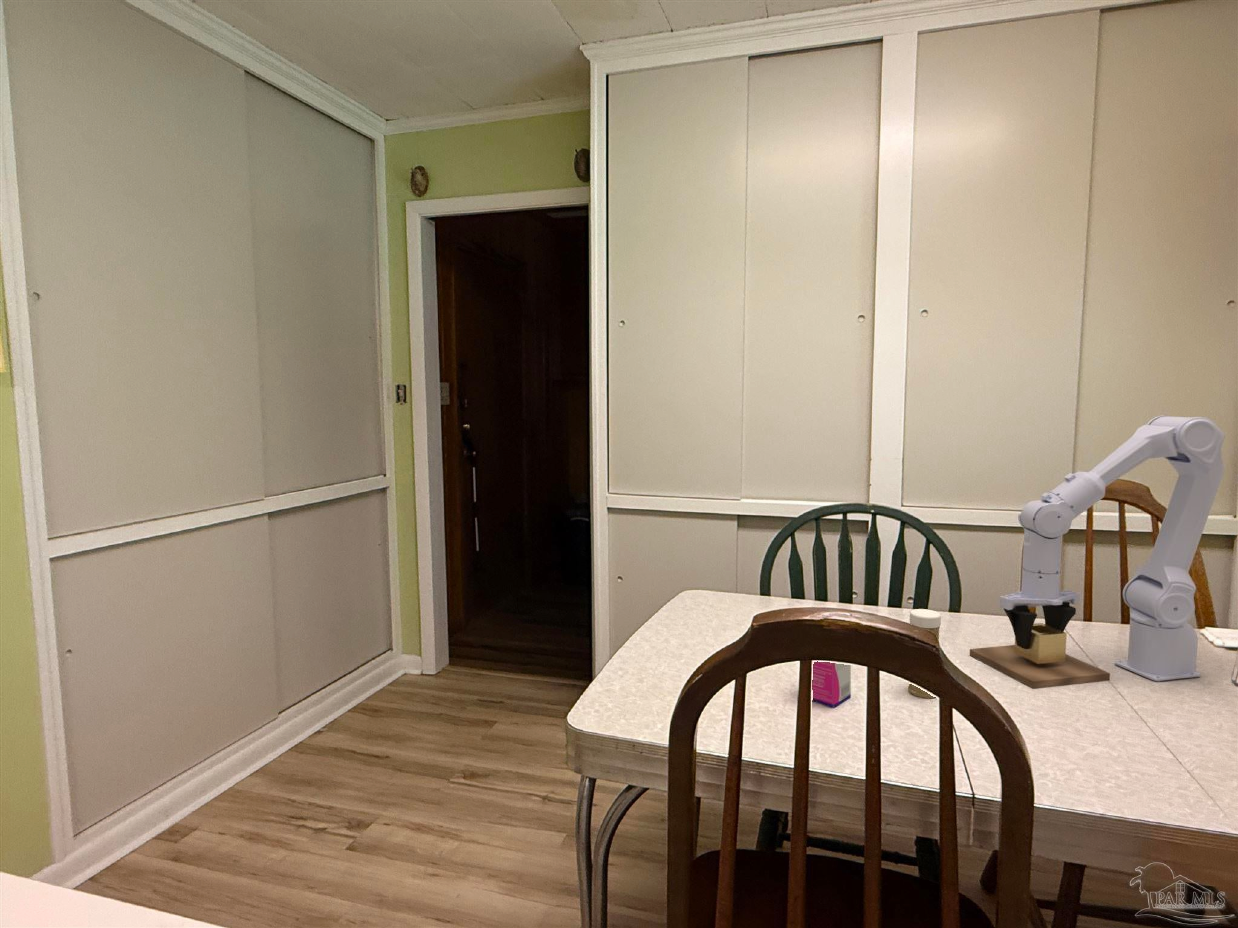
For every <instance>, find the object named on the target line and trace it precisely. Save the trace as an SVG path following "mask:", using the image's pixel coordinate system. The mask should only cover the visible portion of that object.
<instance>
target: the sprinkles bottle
mask: <svg viewBox="0 0 1238 928" xmlns="http://www.w3.org/2000/svg"><path fill="white" fill-rule="evenodd" d="M941 623H942V616H941V614H940V613H939V612H938V611H935V610H932V609H925V608H918V609H917V608H915V609H912V610H910V612H909V625H910V624H912V625H914V626H918V627H921V628H923V629H926V630H929V631H930V632H933V633H934V634H935V635H936V636H937V638H938V639H939V640H940V628H941ZM907 687H908V688H907V691H908V692H909V693H910V694H911V695H913V696H914V697H919V698H923V699H924V698H925V699H931V698H934V697H933V696H931V695H930V694H928V693H927V692H925V691H923V690H921V689H920V688H918V687H916V686H914V685H912V684H909V683H908V686H907Z"/></svg>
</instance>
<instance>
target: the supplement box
mask: <svg viewBox="0 0 1238 928" xmlns="http://www.w3.org/2000/svg"><path fill="white" fill-rule="evenodd" d="M851 666H852V665H844V664H836V663H830V662H818V661H817V662H814V664H813V680H812V690H813V701H812V702H814V703H817V704H820V705H823V706H826V707H829V708H831V709H835V708H836V707H837V706H839V705H840V704H843V703H844V702H846V701H847V700H849V699H851V697H852V695H851V689H852V687H851V686H852V685H851V679H852V678H851V674H852V673H851V672H852V671H851Z"/></svg>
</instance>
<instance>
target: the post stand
mask: <svg viewBox="0 0 1238 928" xmlns="http://www.w3.org/2000/svg"><path fill="white" fill-rule="evenodd" d="M1014 648H1015V644H1011V645H1010V644H1009V645H998V646H989V647H978V648H976V647H975V648H970V649H969V656H970V657H972V658H974V659H975V660H977V659H978V661H979V662H982V663H984V664H986V665H987V666H989V667H990V668H993V669H994V670H997V671H999V672H1001V674H1005V675H1006V676H1008V677H1011V678H1012V679H1014V680H1016V681H1017V682H1020V683H1021V684H1023V685H1026V686H1027V687H1029V688H1031V689H1038V688H1040V689H1041V688H1049V687H1057V686H1058V687H1059V686H1067V685H1069V686H1070V685H1077V684H1085V683H1086V684H1087V683H1094V682H1095V683H1096V682H1103V681H1104V682H1105V681H1110V680H1111V673H1110V672H1109V671H1106V670H1105V669H1101V668H1099V667H1097V666H1095V665H1093V664H1090V663H1088V662H1085V661H1083V660H1080V659H1078V658H1076V657H1074V656H1072V655H1069V654H1066V653H1065V661H1062V662H1052V663H1042V664H1037V663H1035V662H1033V661H1031V660H1029V659H1027V658H1025V657H1023V656H1021V655H1019V654H1017V653H1015V652H1014Z"/></svg>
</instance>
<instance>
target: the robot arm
mask: <svg viewBox="0 0 1238 928" xmlns="http://www.w3.org/2000/svg"><path fill="white" fill-rule="evenodd" d="M1225 438H1226V436H1225V434H1224V433H1223V432H1222V430H1221V429H1220V428H1219V427H1218V426H1217V424H1216V423H1215V422H1214V421H1212V420H1211V419H1209V418H1207V417H1204V416H1194V417H1188V416H1187V417H1186V416H1185V417H1184V416H1172V415H1166V414H1164V415H1157V416H1156V417H1153V418H1152V419H1150V420H1149V421H1148V422H1147V424H1143V425H1142V426H1140V427H1138V428H1137V429H1136V430H1135V432H1134V433H1133V434H1132V436H1131V437H1130V438H1128V439H1127V440H1126V441H1125V442H1124V443H1123V444H1121V445H1120V446H1119V447H1118V448H1116V449H1115V450H1114V451H1113V452H1111V453H1110V454H1109V455H1108V456H1106V457H1105V458H1104V459H1103V460H1102V461H1101V462H1100V463H1099V464H1097V465H1095V467H1093V468H1092V469H1091V470H1090V471H1087V472H1086V471H1076V472H1075V473H1071V472H1070V473H1067V474H1066V475H1065V476H1063V479H1064V481H1063V482H1062V483H1060V484H1059V485H1057V486H1055V487H1054V488H1053V489H1052V490H1050V491H1049V492H1044V493H1042V494H1041V495H1040V497H1041V499H1036V500H1031V501H1029V502H1028V503H1026V504H1025V505H1024V506H1023V507H1022V511H1021V512H1020V514H1018V515H1017V519H1018V522H1019V524H1020V526H1021V527H1022V528H1023V531H1024V533H1023V547H1022V548H1023V549H1022V568H1021V569H1022V570H1021V572H1022V573H1021V587H1020V588H1021V589H1020V591H1017V592H1014V593H1010V594H1006V595H1000V596H999V607H1000V608H1002V609H1003V610H1004V612H1005V615H1006V616H1007V617H1008V620H1009V622H1010V624H1011V628H1012V630H1013V633H1014V640H1015V639H1016V643H1017V646H1019V647H1021V648H1023V649H1029V646H1030V642H1031V632H1032V627H1033V624H1035V621H1036V619H1037V617H1038V614H1037V613H1035V612H1032V611H1031V609H1030V607H1031V608H1032V607H1041V608H1042V612H1043V617H1044V624H1046V625H1048V626H1051V627H1053V628H1055V629H1058V630H1060V631H1063V632H1065V630H1066V628H1067V626H1068V624H1069V622H1070V621H1071V620H1072V619H1073V617H1074V616H1075V615H1076V612H1077V609H1076V607H1074V606H1072V605H1080V599H1081V598H1080V597H1081V595H1080V594H1081V593H1080V592H1076V591H1073V590H1061V570H1062V553H1063V551H1062V550H1063V535H1064V534H1065V535H1066V534H1067V533H1068V532H1069V530H1070V528H1071V525H1072V522H1073V520H1075V519H1077V517H1079V516H1080V515H1081V514H1083V513H1084V512H1085V511H1087V510H1088V509H1089V508H1091V507H1092V506H1094V505H1095V504H1097V502H1099V501H1101V500H1102V499H1103V498H1104V497H1105V495H1106V487H1107V486H1109V485H1110V484H1112V483H1113V482H1115V481H1116V480H1118V479H1120V478H1121V477H1123V476H1124V475H1126V474H1127V473H1129V472H1130V471H1132V470H1134V469H1135V468H1137V467H1138V466H1139V465H1141V464H1143V463H1145V461H1147V460H1149V459H1157V458H1164V459H1165V460H1167V461H1168V462H1169V464H1170V465H1171V466H1172V467H1173V469H1174V470H1175V471H1176V472H1177V473H1178V477H1177V480H1176V482H1175V485H1174V487H1173V488H1174V489H1173V491H1172V494H1171V497H1170V500H1169V503H1168V504H1167V505H1168V506H1167V508H1166V512H1165V515H1164V517H1163V520H1162V522H1161V525H1160V526H1161V527H1160V529H1159V532H1158V534H1157V536H1156V537H1157V538H1156V540H1155V543H1154V546H1153V549H1152V552H1151V555H1150V556H1149V560H1148V561H1147V562H1145V563H1143V564H1141V565H1140V566H1138V567H1137V568H1136V569H1135V572H1134V575H1133V577H1132V578H1131V579H1130V580H1129V581H1128V582H1126V584H1125V586H1124V587H1123V590H1122V598H1123V601H1124V603H1125V605H1127V606H1128V607H1129V614H1130V619H1129V630H1128V631H1129V634H1128V646H1127V647H1128V649H1127V659H1124V660H1115V661H1113V662H1114V664H1115V665H1116V666H1118V667H1121V668H1123V669H1125V670H1128V671H1130V672H1132V673H1135V674H1138V675H1140V676H1141V677H1144V678H1147V679H1150V680H1151V681H1155V682H1161V681H1170V680H1177V679H1179V680H1180V679H1188V678H1189V679H1190V678H1197V677H1201V673H1200V672H1198V671H1196V669H1197V658H1198V646H1199V645H1198V643H1199V639H1198V633H1197V631H1196V630H1195V628H1194V627H1193V626H1192V625H1191V624H1190V623H1189V622H1190V621H1191V620H1192V618H1193V617H1194V614H1195V611H1196V604H1195V599H1194V597H1195V593H1196V590H1197V587H1196V585H1195V582H1194V581H1193V578H1192V577H1191V575H1190V573H1189V571H1190V569H1191V566H1192V563H1193V559H1194V557H1195V555H1196V551H1197V549H1198V546H1199V543H1200V541H1201V538H1202V534H1203V532H1204V529H1205V527H1206V524H1207V520H1208V518H1209V515H1210V513H1211V510H1212V507H1213V503H1214V501H1215V499H1216V495H1217V492H1218V490H1219V487H1220V485H1221V482H1222V478H1223V476H1224V472H1225V471H1224V469H1225V467H1224V460H1223V454H1222V446H1223V444H1224V441H1225ZM1070 604H1072V605H1070Z"/></svg>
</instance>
